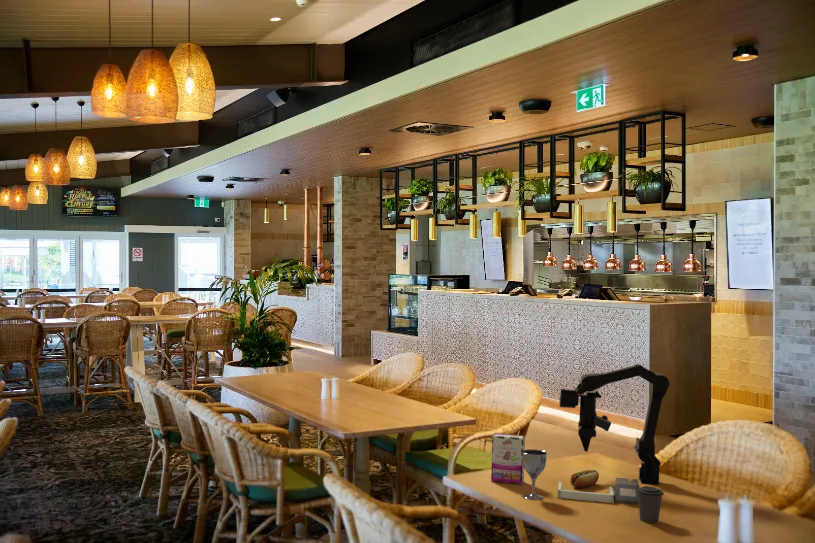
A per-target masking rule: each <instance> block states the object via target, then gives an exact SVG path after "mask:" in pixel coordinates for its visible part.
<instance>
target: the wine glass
mask: <svg viewBox="0 0 815 543" xmlns="http://www.w3.org/2000/svg"><path fill="white" fill-rule="evenodd" d="M547 455H548V453H547V451H545V450H541V449H534V448H529V449H525V450H523V466H524V471H525V472H526V473H527V474H528V476H529V477H530V480H531V492H530V493H525V494H522V496H521V497H522V498H523V499H525V500H530V501H541V500H544V498H545V497H544V496H543V495H541V494H538V493H536V492H535V486H536V480H538V477H539V476H540V475H541V473H543V472H544V470H545V467H546V463H547Z"/></svg>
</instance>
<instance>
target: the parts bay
mask: <svg viewBox="0 0 815 543" xmlns="http://www.w3.org/2000/svg"><path fill="white" fill-rule="evenodd" d="M557 485H558V487H557V498H558V499H567V500H568V499H569V500H579V501H587V502H588V501H589V502H596V501H598V503H607V502H608V503H609V504H614V502H615V496H614V488H613V486H609V487H608V493H601V492H600V493H599V492H589V491H580V490H577V491H576V490H570V489H569V490H567V489H562V485H563V482H562V481H558V484H557ZM608 503H607V504H608Z"/></svg>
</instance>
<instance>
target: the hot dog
mask: <svg viewBox="0 0 815 543" xmlns="http://www.w3.org/2000/svg"><path fill="white" fill-rule="evenodd" d="M599 476H600V473H599V472H598V471H597V470H596V469H592V470H591V469H588V470H583V471H579V472H575V473H573V474H572V475H570V484H571V486H572V487H574V488H576V489H580V488H587V487H591V486H593V485H595V484H596V483H598V480H599Z"/></svg>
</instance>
